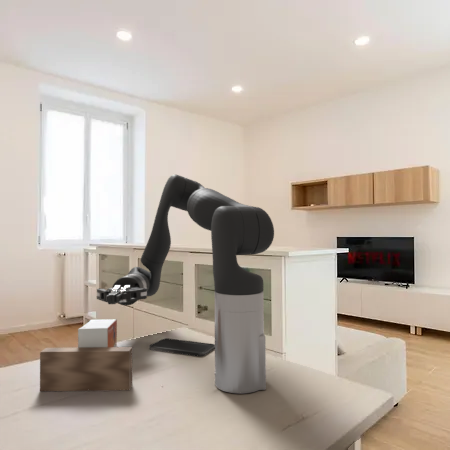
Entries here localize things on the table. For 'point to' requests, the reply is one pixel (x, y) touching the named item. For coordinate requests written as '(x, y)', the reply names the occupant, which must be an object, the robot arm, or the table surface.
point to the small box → (98, 333)
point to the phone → (182, 347)
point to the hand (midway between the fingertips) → (111, 299)
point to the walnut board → (86, 369)
